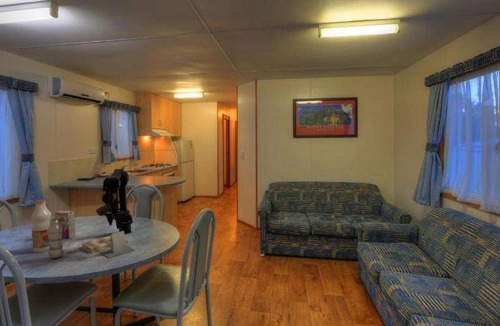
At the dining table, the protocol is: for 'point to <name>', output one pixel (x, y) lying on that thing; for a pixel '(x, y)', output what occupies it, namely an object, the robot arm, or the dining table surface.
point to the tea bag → (118, 242)
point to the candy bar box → (66, 223)
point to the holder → (98, 244)
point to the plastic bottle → (55, 239)
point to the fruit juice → (40, 226)
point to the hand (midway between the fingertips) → (114, 227)
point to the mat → (111, 254)
